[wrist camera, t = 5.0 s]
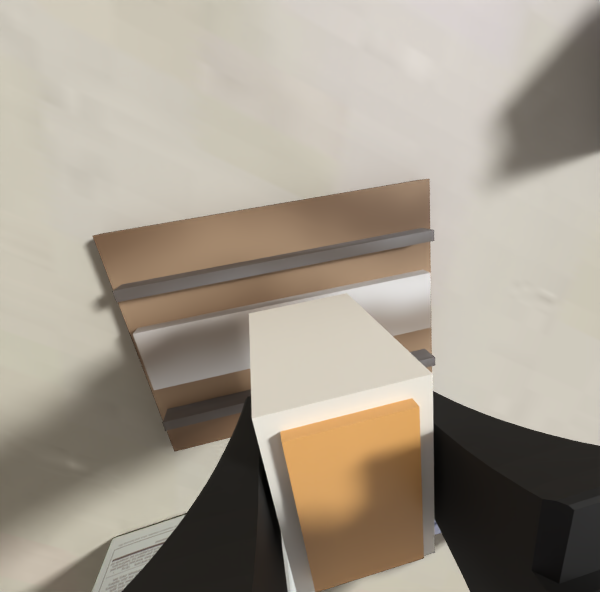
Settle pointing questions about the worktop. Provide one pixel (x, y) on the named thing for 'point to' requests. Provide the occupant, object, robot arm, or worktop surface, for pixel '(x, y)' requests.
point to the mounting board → (263, 289)
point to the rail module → (342, 440)
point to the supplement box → (145, 556)
